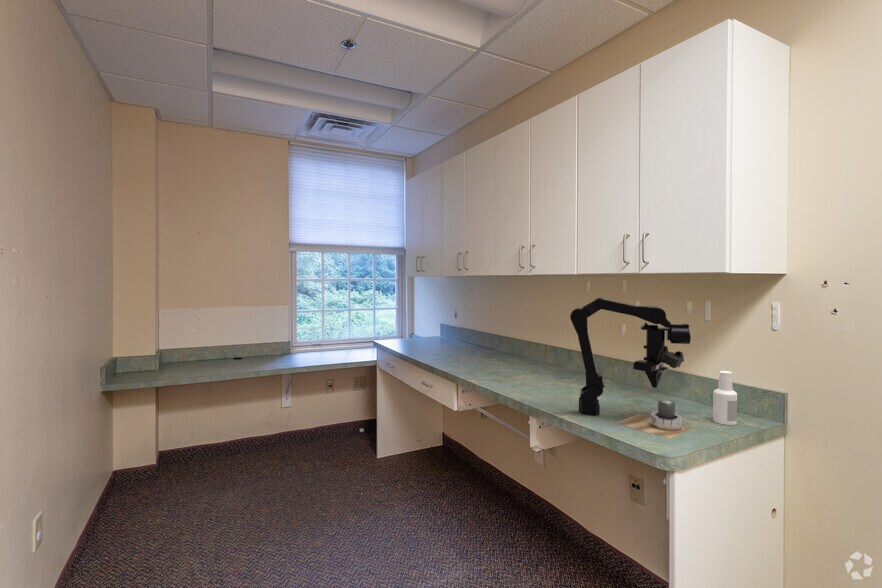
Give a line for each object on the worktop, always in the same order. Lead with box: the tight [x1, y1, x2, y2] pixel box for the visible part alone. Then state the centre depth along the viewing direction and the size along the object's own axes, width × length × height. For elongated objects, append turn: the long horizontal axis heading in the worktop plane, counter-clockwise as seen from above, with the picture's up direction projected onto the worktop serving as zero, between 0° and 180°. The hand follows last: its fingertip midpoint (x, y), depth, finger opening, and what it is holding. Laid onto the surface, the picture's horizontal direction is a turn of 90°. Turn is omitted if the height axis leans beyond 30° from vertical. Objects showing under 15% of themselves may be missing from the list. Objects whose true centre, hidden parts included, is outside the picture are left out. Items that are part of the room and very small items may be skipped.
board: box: [616, 413, 692, 440], centre depth 145 cm, size 18×15×1 cm
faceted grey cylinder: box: [650, 410, 683, 431], centre depth 144 cm, size 9×9×4 cm
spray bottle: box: [712, 370, 738, 426], centre depth 148 cm, size 7×7×18 cm
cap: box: [657, 399, 676, 419], centre depth 144 cm, size 5×5×6 cm
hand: (654, 387), depth 151 cm, fingers closed
